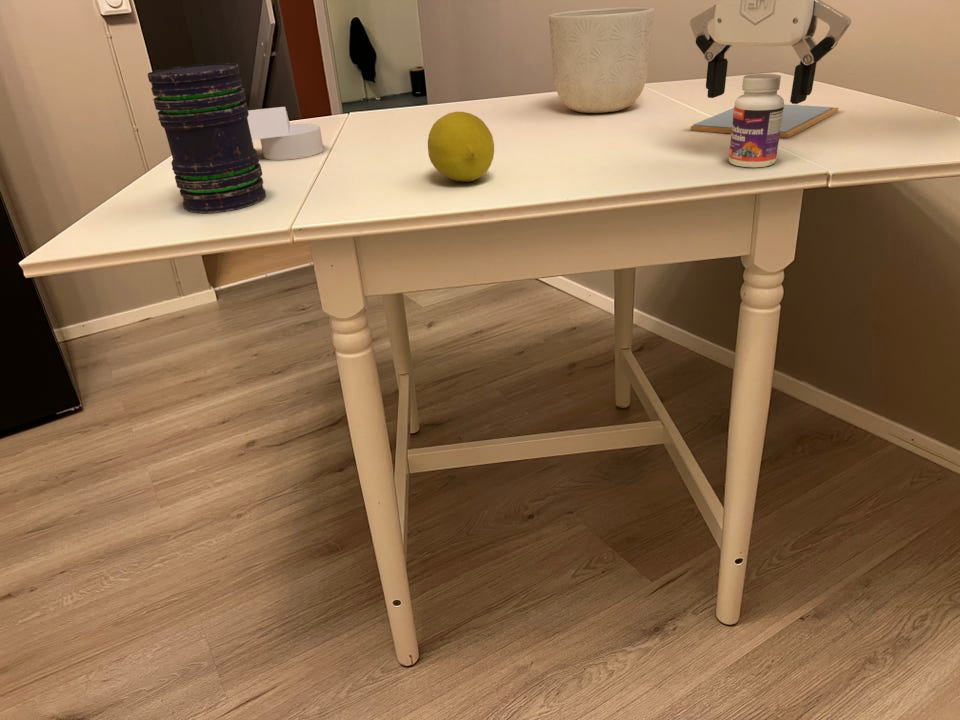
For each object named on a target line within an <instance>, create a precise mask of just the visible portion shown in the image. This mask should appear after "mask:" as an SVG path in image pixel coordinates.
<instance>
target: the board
mask: <svg viewBox="0 0 960 720" xmlns="http://www.w3.org/2000/svg"><path fill="white" fill-rule="evenodd" d="M838 112H839V107H833V106H818V105H803V104H802V105H801V104H785V103H784V109H783V116H782V123H781V130H780V137H779V139H790V138H791V137H793V136H795V135H797V134H799V133H801V132H802V131H805V130H806V129H808V128H810V127H813V126H814V125H816V124H817V123H819V122H821V121H824V120H825V119H827V118H829V117H831V116H832V115H834V114H837V113H838ZM733 114H734V107H733V108H730V109H728V110H724V111H723V112H720V113H717V114H715V115H713V116H710V117H708V118H705V119H703V120H700V121H697V122H695V123H693V125H691V126H690V131H695V132H707V133H708V132H709V133H720V134H730V135H731V133H732V124H733Z"/></svg>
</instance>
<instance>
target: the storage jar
mask: <svg viewBox="0 0 960 720" xmlns="http://www.w3.org/2000/svg"><path fill="white" fill-rule="evenodd" d="M239 68H240V67H239V64H238V63H235V62H234V63H233V62H225V63H224V62H220V63H219V62H218V63H217V62H216V63H205V64H193V65H192V64H191V65H184V66H183V65H182V66H176V67H169V68H163V69H157V70H153V71H150V72H148V73H147V78H148V82H149V83H150V84H151V88H150V90H151V92H152V96H153V97H154V98H153V99H152V101H153V103H154V106H155V110H156V111H157V115H158V121H159V123H160V126H161V127H162V128H163V129H164V132H165V135H166V139H167V142H168V146H169V150H170V154H171V157H172V161H171V162H170V163H171V170H172V171H173V174H174V175H175V176H174V179H175V184H176V188H178V189H179V194H180V196H181V197H182V200H183V202H182V205H183V208H184V210H185V211H186V212H189V213H196V214H215V213H223V212H230V211H237V210H241V209H244V208H248V207H250V206H255V205H256V204H258V203H261V202H262V201H263V200H265V199H266V197H267V193H266V189H265V188H264V185H263V184H264V179H263V178H262V176H263V170H262V165H261V163H260V159H259V158H260V155H259V154H258V150H257V149H256V148H255V147H254V142H253V140H252V137H251V133H250V128H249V124H248V119H247V117H248V115H249V113H248V111H249V107H248V104H247V101H246V99H247V97H246V92H245V88H243V87H242V86H243V81H242V78H241V77H240V74H239V73H240V69H239Z"/></svg>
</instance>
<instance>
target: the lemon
mask: <svg viewBox="0 0 960 720" xmlns="http://www.w3.org/2000/svg"><path fill="white" fill-rule="evenodd" d="M427 152H428V157H429V160H430V163H431V164H432V166H433V167H434V169H435V170H436V171H437V172H438V173H439V174H440V175H442V176H444V177H445V178H447V179H449V180H452V181H457V182H463V183H464V182H472V181H476V180H478V179H480V178H481V177H483V176H484V175H485V174H487V172H488V171H489V169H490V167H491V165H492V164H493V163H492V162H493V160H494V155H495V141H494V138H493V134H492V132H491V131H490V129H489V127H488V126H487V124H486V123H485V122H484V121H483V120H482V119H481V118H479V116H477V115H474V114H472V113H469V112H467V111H466V112H465V111H452V112H448V113H446V114H445V115H443V116H441V117H440V118H438V119H437V120H436V121H435V122H434V123H433V125H432V126H431V128H430V130H429V134H428V137H427Z"/></svg>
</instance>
